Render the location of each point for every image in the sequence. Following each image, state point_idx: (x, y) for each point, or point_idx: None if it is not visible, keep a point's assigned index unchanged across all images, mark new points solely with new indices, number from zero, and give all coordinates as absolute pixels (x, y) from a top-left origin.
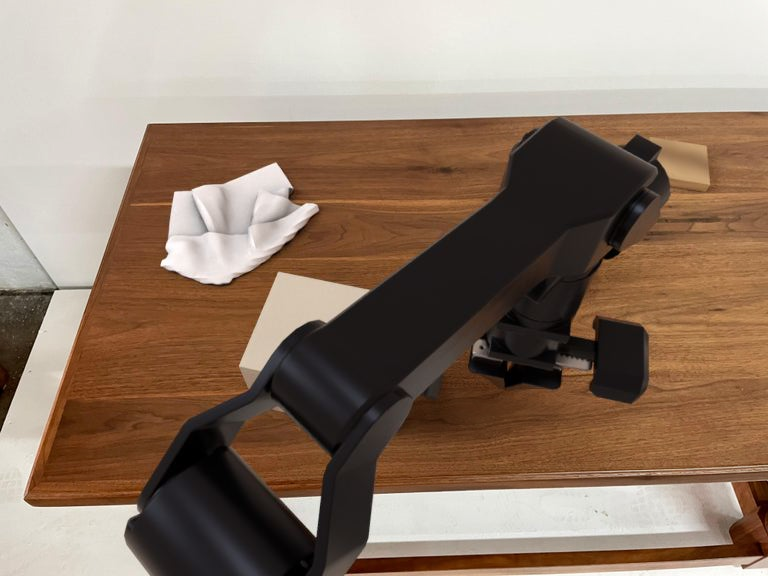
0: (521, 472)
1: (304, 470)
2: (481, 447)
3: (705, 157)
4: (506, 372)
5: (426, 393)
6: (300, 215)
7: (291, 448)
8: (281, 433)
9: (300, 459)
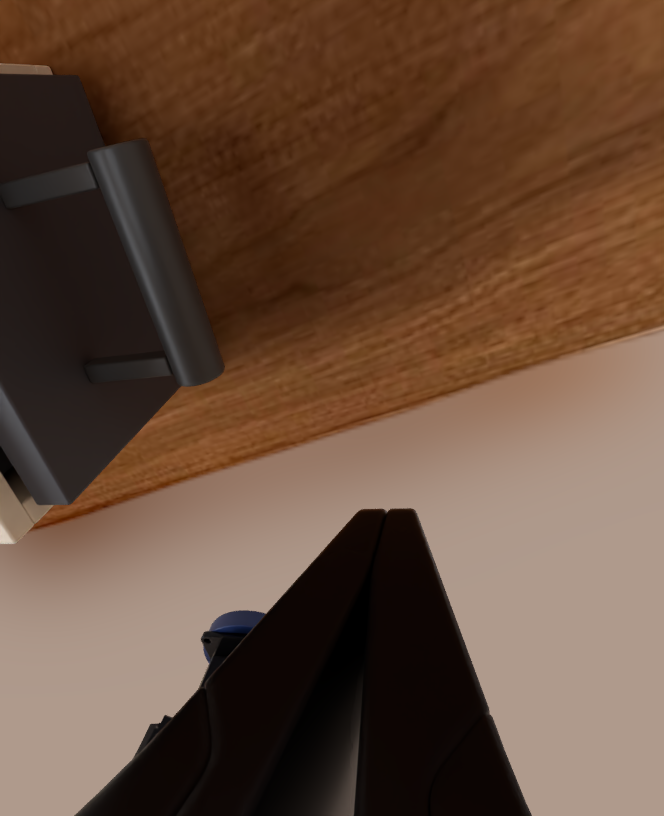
0: (565, 354)
1: (106, 484)
2: (433, 324)
3: None
4: (347, 743)
5: (175, 376)
6: None
7: None
8: None
9: None
